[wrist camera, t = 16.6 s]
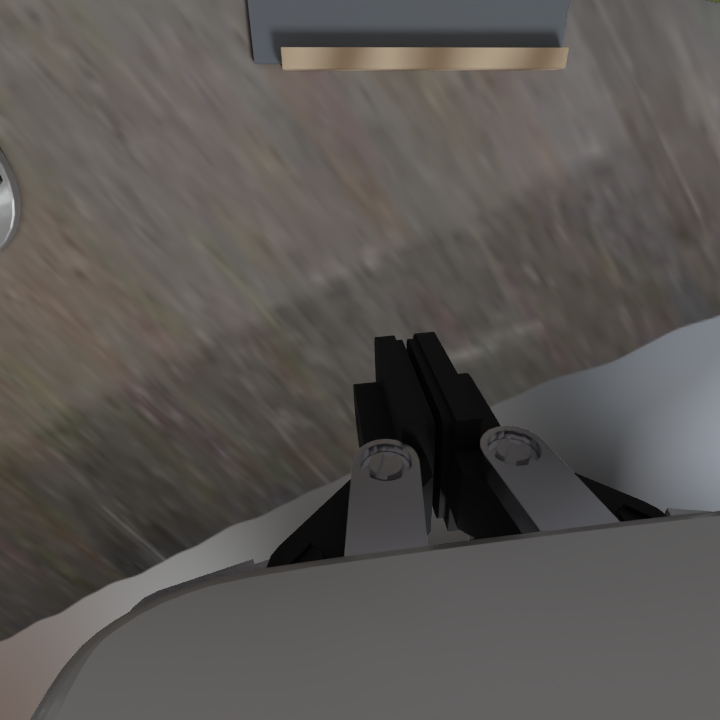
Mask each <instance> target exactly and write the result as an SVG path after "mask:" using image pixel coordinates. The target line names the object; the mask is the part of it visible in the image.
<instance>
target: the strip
mask: <svg viewBox="0 0 720 720" xmlns="http://www.w3.org/2000/svg"><path fill="white" fill-rule="evenodd" d="M568 50H569V48H459V47H281V55H282V67H283V70H284V71H334V70H557V69H564V68H565V66H566V61H567V55H568Z"/></svg>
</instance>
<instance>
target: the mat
mask: <svg viewBox="0 0 720 720" xmlns="http://www.w3.org/2000/svg"><path fill="white" fill-rule="evenodd" d="M569 2H570V0H248V9H249V18H250V27H251V37H252V46H253V55H254V63H255V64H282V55H281V47H459V48H561V45H562V40H563V35H564V29H565V24H566V18H567V13H568V8H569Z"/></svg>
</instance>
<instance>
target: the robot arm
mask: <svg viewBox="0 0 720 720" xmlns="http://www.w3.org/2000/svg"><path fill="white" fill-rule="evenodd" d="M0 175H1V176H0V250H1V249H2V248H4V247H5V246H6V245H7V244H8V243H9V242H10V240H11V239H12V237H13V236H14V234H15V233H16V230H17V227H18V224H19V221H20V213H21V201H20V194H19V188H18V185H17V182H16V179H15V176H14V173H13V171H12V169H11V167H10V165H9V163H8V161H7V159H6V158H5V156H4V154H3V153H2V151H1V150H0ZM1 177H2V178H1ZM375 370H376V382H372V383H362V384H354V385H353V388H354V404H355V416H356V426H357V434H358V441H359V449H358V451H357V452H356V453H355V455H354V458H353V461H352V472H351V479H350V480H349V481H348V482H347V483H346V484H345V485H344V486H343V487H342V488H341V489H340V490H338V491H337V492H336V493H335V494H334V495H333V496H332V497H331V498H330V499H329V500H328V501H327V502H326V503H325V504H324V505H322V506H321V507H320V508H319V509H318V510H317V511H316V512H315V513H314V514H313V515H312V516H311V517H310V518H309V519H307V520H306V521H305V522H304V523H303V524H302V525H301V526H300V527H299V528H298V529H297V530H296V531H295V532H294V533H293V534H292V535H290V536H289V537H288V538H287V539H286V540H285V541H284V542H283V543H282V544H281V545H280V546H279V547H278V548H277V549H276V550H275V552H274V553H273V554H272V555H271V557H270V559H269V560H266V561H263V562H260V563H257V564H254V561H253V559H252V560H249V561H246V562H243V563H240V564H237V565H234V566H231V567H228V568H225V569H222V570H219V571H216V572H213V573H210V574H207V575H204V576H201V577H198V578H196V579H192V580H189V581H187V582H183V583H180V584H177V585H174V586H171V587H168V588H165V589H162V590H159V591H157V592H155V593H153V594H151V595H149V596H147V597H145V598H144V599H142V600H141V601H140V602H139V603H138V604H137V605H135V606H134V607H133V608H132V610H131V611H130V612H128V613H127V614H125V615H123V616H122V617H120V618H119V619H117V620H115V621H113V622H112V623H110V624H109V625H108V626H106V627H105V628H103V629H102V630H100V631H99V632H98V633H96V634H95V635H94V636H93V637H92V638H91V639H89V640H88V641H87V642H86V643H85V644H84V645H82V647H81V648H80V649H79V650H78V651H77V652H76V653H75V654H74V656H73V657H72V658H71V659H70V660H69V661H68V662H67V664H66V665H65V666H64V667H63V669H62V670H61V671H60V673H59V674H58V676H57V677H56V679H55V680H54V682H53V683H52V685H51V686H50V688H49V689H48V691H47V692H46V694H45V695H44V697H43V699H42V700H41V702H40V704H39V706H38V707H37V709H36V711H35V713H34V714H33V716H32V718H31V719H30V720H720V511H714V512H712V511H697V510H683V509H670V508H667V510H666V512H665V514H664V513H663V512H662V511H660V510H659V509H658V508H656V507H654V506H652V505H650V504H648V503H646V502H644V501H642V500H639V499H637V498H634V497H632V496H630V495H627V494H625V493H622V492H620V491H617V490H615V489H613V488H610V487H608V486H605V485H603V484H600V483H598V482H596V481H593V480H591V479H588V478H586V477H583V476H581V475H579V474H576V473H573V472H572V470H571V469H570V468H569V467H568V466H567V465H566V464H565V463H564V462H563V461H562V460H561V459H560V458H559V457H558V456H557V455H556V453H555V452H554V451H553V450H552V449H551V448H550V447H549V446H548V445H547V444H546V443H545V442H544V441H543V440H542V439H541V438H540V437H538V436H537V435H536V434H534V433H532V432H530V431H528V430H526V429H522V428H519V427H513V426H512V427H511V426H500V424H499V422H498V421H497V419H496V418H495V416H494V414H493V413H492V411H491V409H490V408H489V406H488V404H487V403H486V401H485V399H484V398H483V396H482V394H481V393H480V391H479V389H478V388H477V386H476V384H475V383H474V381H473V379H472V378H471V376H470V375H469V374H467V373H463V374H458V373H457V372H456V370H455V368H454V366H453V365H452V363H451V361H450V359H449V357H448V356H447V354H446V352H445V350H444V348H443V347H442V345H441V343H440V341H439V339H438V338H437V336H436V334H435V333H434V332H427V333H416V334H414V336H413V339H408V340H407V350H406V348H405V345H404V343H403V341H402V340H396V338H395V336H384V337H375ZM432 506H433V509H434V513H435V515H436V517H437V518H444V521H445V524H446V527H447V530H448V531H454V530H461V531H463V532H465V533H467V534H468V535H469V541H461V542H454V543H445V544H438V545H430V546H428V541H427V535H428V534H429V533H430V531H431V515H432Z"/></svg>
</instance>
